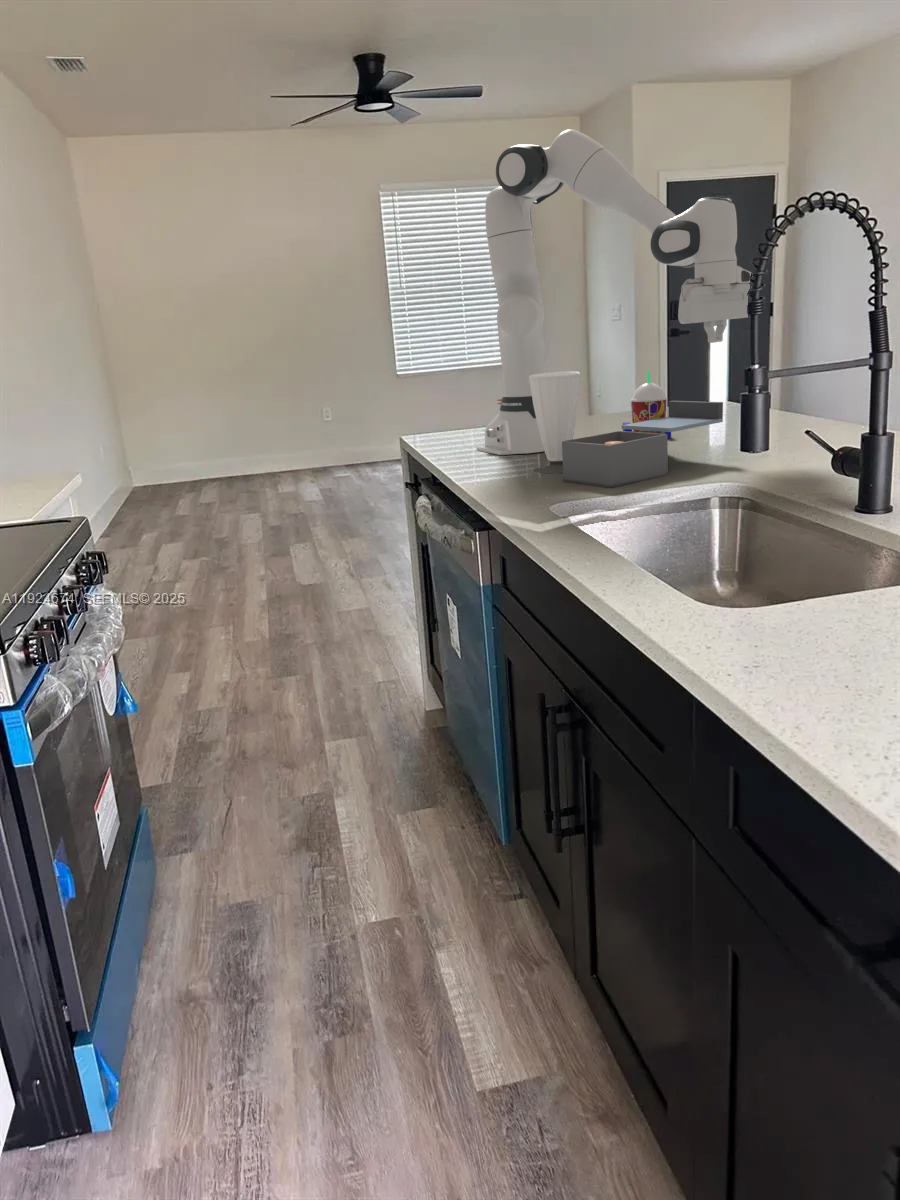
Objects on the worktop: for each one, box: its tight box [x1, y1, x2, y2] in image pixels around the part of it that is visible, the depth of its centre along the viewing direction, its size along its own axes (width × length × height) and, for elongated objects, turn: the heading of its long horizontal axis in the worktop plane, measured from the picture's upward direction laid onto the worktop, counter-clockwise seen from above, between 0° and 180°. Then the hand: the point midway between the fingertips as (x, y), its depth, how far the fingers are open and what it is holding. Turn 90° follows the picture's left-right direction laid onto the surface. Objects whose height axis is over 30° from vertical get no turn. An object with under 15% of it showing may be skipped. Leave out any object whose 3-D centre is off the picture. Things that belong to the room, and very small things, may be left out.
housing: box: [562, 430, 669, 489], centre depth 184 cm, size 14×17×8 cm
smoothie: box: [630, 370, 668, 434], centre depth 206 cm, size 8×8×20 cm
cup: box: [529, 371, 581, 475], centre depth 197 cm, size 12×12×22 cm
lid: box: [621, 400, 724, 433], centre depth 191 cm, size 14×17×4 cm
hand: (715, 342), depth 194 cm, fingers closed
